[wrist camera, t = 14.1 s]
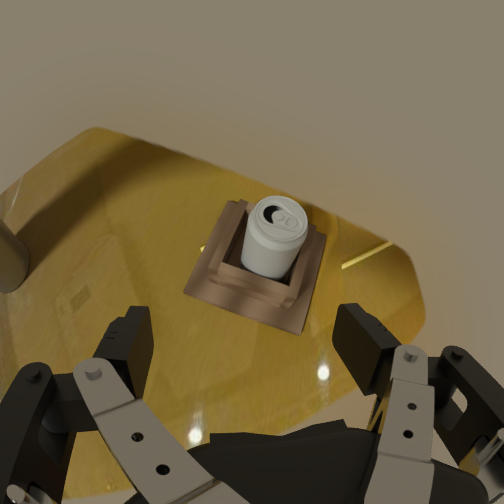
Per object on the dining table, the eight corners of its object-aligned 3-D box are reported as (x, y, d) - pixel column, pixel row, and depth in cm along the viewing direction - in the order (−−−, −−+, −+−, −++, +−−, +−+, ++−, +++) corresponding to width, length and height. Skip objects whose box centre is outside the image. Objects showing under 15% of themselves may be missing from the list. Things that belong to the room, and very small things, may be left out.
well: (184, 293, 37) (179, 277, 32) (228, 203, 45) (229, 180, 40) (298, 335, 36) (311, 325, 31) (324, 237, 44) (336, 218, 39)
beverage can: (254, 239, 41) (268, 183, 31) (293, 261, 40) (320, 211, 30) (230, 273, 38) (236, 222, 28) (272, 298, 37) (295, 255, 27)
